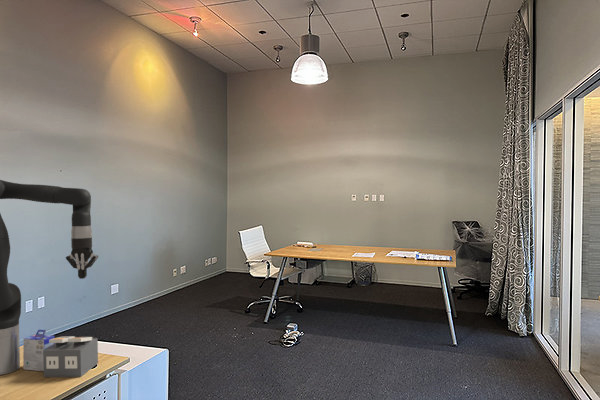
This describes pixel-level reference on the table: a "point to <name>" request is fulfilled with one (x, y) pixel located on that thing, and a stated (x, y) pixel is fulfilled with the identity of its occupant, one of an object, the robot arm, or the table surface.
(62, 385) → the table surface
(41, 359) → the ink cartridge box
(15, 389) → the table surface
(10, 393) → the table surface
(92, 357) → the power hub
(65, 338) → the inner rocker
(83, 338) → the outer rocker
